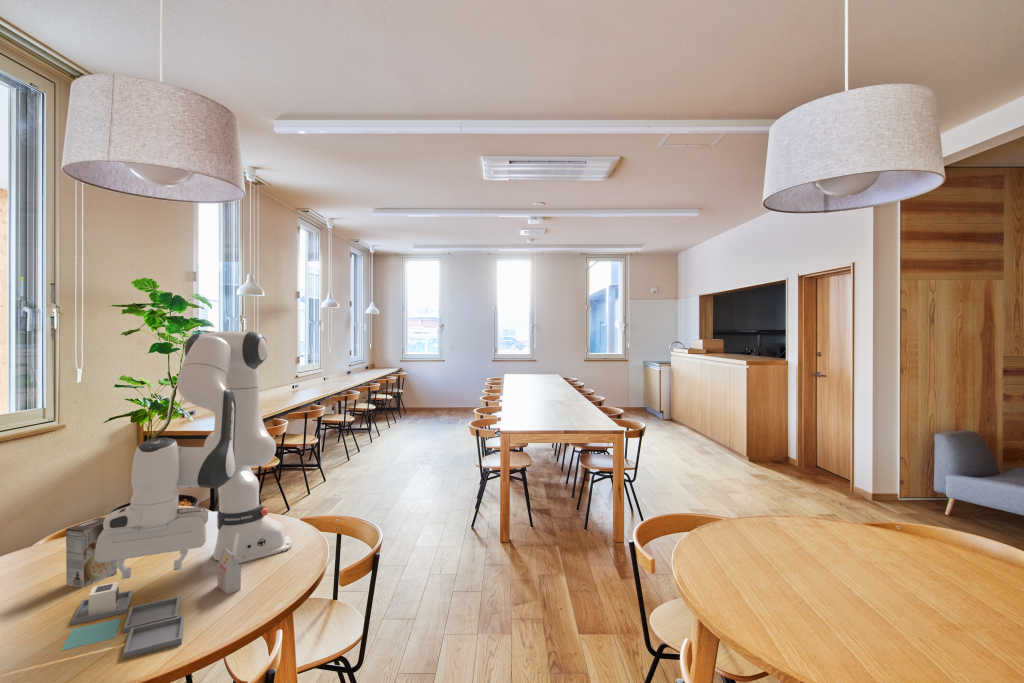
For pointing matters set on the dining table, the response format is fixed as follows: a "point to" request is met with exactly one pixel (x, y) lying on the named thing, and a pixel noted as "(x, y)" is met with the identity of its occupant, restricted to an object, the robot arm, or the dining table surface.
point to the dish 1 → (121, 608)
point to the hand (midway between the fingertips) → (152, 573)
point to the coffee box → (85, 555)
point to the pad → (91, 634)
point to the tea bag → (229, 573)
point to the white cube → (103, 598)
